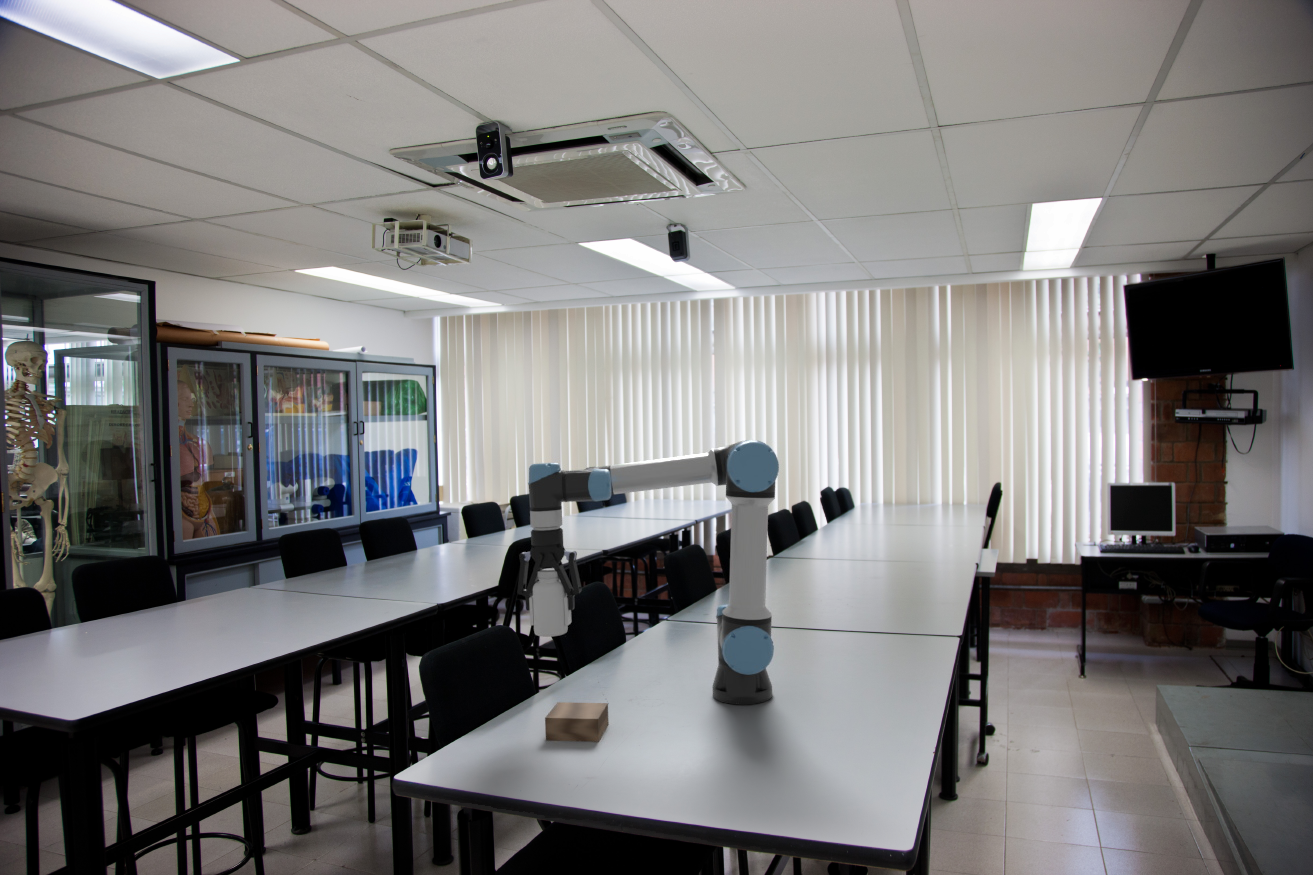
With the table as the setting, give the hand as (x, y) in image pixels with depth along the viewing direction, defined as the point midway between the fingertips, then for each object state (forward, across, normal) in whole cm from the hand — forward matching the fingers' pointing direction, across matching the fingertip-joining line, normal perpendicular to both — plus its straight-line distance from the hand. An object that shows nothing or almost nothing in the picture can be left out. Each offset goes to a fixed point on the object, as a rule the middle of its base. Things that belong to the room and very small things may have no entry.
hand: (551, 623), depth 181 cm
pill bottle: (+2, 0, 0) cm, 2 cm away
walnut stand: (+23, -8, +7) cm, 25 cm away
